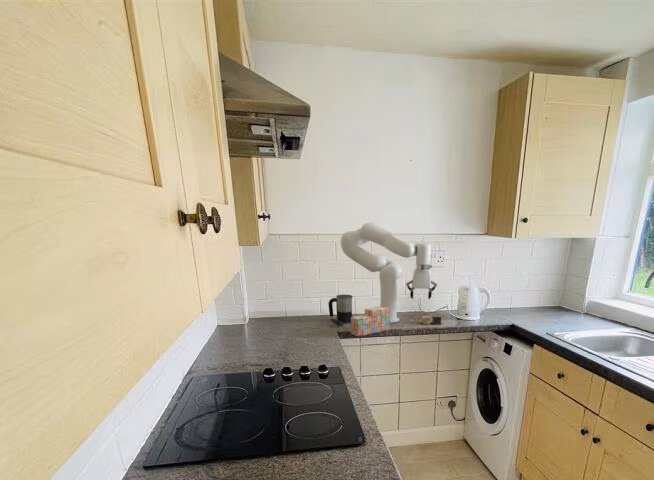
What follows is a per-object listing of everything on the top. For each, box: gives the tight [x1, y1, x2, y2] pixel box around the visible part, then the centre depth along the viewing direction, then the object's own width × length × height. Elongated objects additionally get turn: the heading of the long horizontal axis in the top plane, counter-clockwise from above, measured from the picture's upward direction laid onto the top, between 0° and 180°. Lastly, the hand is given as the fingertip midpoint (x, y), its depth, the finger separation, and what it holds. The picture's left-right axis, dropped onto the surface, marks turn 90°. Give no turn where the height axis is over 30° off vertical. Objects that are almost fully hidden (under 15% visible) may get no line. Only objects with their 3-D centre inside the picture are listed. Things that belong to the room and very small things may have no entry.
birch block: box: [421, 315, 431, 325], centre depth 234 cm, size 4×4×4 cm
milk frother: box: [328, 294, 353, 326], centre depth 232 cm, size 14×16×15 cm
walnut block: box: [431, 314, 442, 326], centre depth 234 cm, size 4×4×4 cm
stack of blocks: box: [350, 305, 391, 337], centre depth 215 cm, size 21×6×12 cm, turn 130°
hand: (420, 298), depth 229 cm, fingers open, 9 cm apart
